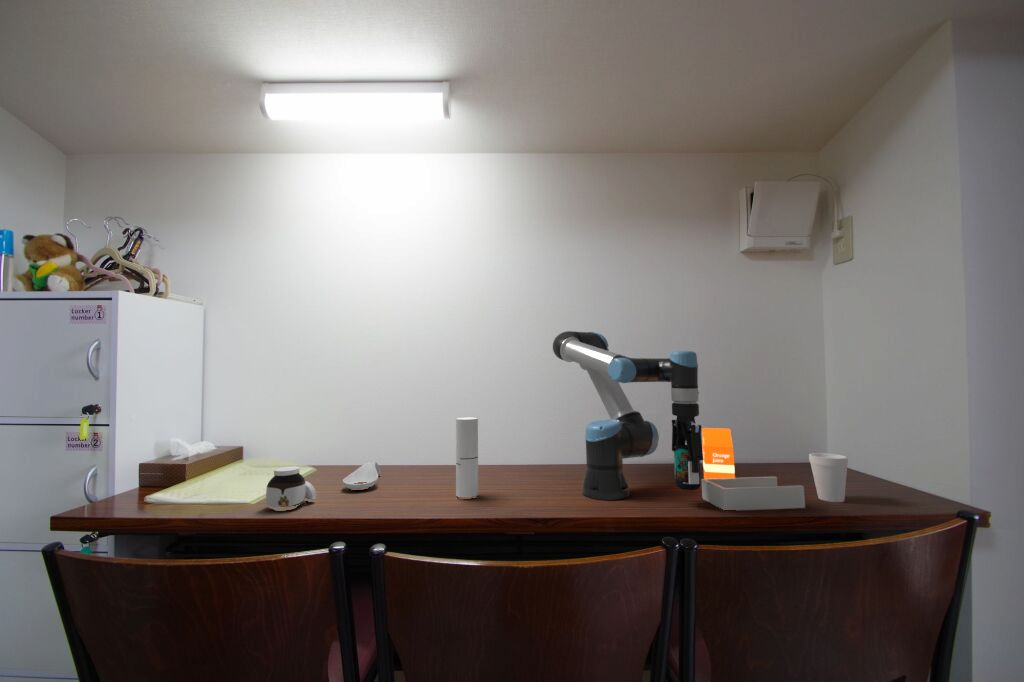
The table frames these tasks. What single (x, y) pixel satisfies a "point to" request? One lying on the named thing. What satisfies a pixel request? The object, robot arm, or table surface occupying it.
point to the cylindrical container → (466, 457)
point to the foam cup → (829, 475)
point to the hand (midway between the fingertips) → (687, 480)
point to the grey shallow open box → (751, 493)
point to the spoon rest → (363, 476)
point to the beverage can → (683, 469)
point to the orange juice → (717, 453)
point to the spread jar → (288, 488)
